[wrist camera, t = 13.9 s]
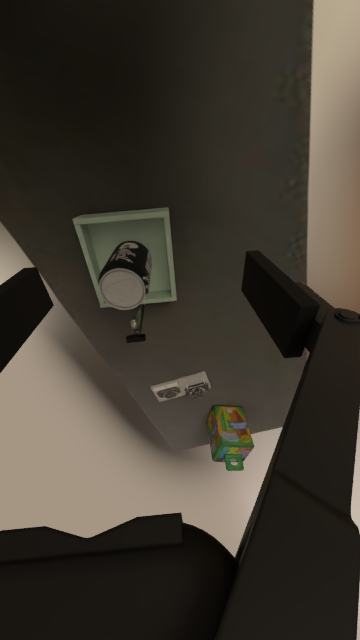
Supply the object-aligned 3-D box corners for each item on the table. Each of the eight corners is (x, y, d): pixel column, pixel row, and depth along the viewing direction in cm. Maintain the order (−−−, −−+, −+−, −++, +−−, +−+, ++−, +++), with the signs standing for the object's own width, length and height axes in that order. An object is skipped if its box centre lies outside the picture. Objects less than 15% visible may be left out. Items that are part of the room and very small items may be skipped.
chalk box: (242, 405, 65) (260, 460, 52) (232, 423, 70) (247, 476, 57) (212, 404, 63) (224, 460, 51) (205, 422, 68) (214, 476, 56)
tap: (131, 288, 41) (122, 324, 31) (146, 286, 41) (141, 322, 31) (135, 305, 43) (127, 344, 33) (149, 304, 43) (145, 342, 33)
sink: (80, 214, 33) (72, 219, 30) (168, 207, 33) (168, 210, 31) (105, 298, 42) (100, 307, 39) (175, 291, 42) (176, 300, 39)
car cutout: (205, 371, 55) (208, 385, 51) (211, 386, 59) (214, 401, 55) (150, 386, 57) (149, 401, 53) (159, 400, 60) (159, 415, 57)
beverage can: (104, 255, 36) (83, 286, 27) (133, 230, 34) (122, 254, 25) (132, 283, 40) (122, 321, 30) (160, 262, 38) (159, 294, 28)
